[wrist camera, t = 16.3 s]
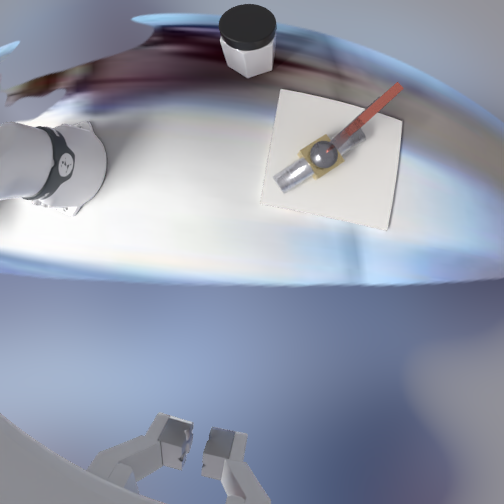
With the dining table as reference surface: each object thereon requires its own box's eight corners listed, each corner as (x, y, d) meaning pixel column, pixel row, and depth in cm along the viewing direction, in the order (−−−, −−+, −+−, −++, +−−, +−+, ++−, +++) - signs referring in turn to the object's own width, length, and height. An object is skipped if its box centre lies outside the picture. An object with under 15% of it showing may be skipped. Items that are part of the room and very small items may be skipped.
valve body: (286, 199, 45) (288, 198, 42) (268, 173, 45) (268, 170, 41) (364, 147, 43) (371, 143, 39) (347, 122, 42) (353, 117, 39)
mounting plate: (259, 203, 46) (259, 203, 46) (280, 91, 43) (280, 88, 42) (384, 230, 46) (387, 230, 45) (400, 122, 43) (402, 121, 42)
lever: (323, 173, 40) (335, 167, 33) (304, 154, 40) (312, 143, 32) (389, 111, 38) (410, 96, 30) (371, 93, 38) (390, 74, 30)
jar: (286, 56, 42) (290, 20, 30) (257, 85, 43) (254, 53, 31) (246, 33, 41) (241, -5, 29) (217, 61, 43) (204, 26, 31)
